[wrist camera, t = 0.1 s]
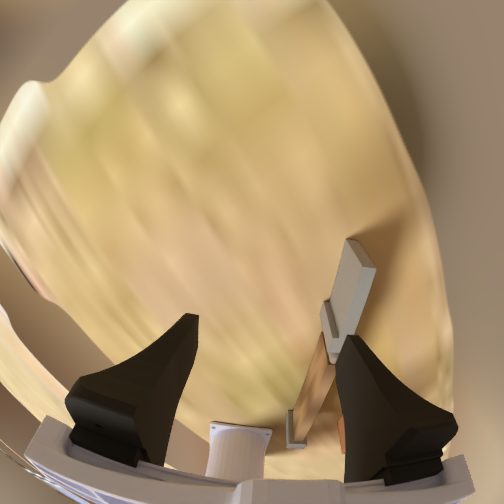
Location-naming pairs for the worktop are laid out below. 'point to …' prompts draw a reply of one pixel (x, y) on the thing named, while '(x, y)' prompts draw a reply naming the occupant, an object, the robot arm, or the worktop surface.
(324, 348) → the gate door
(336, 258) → the worktop surface
